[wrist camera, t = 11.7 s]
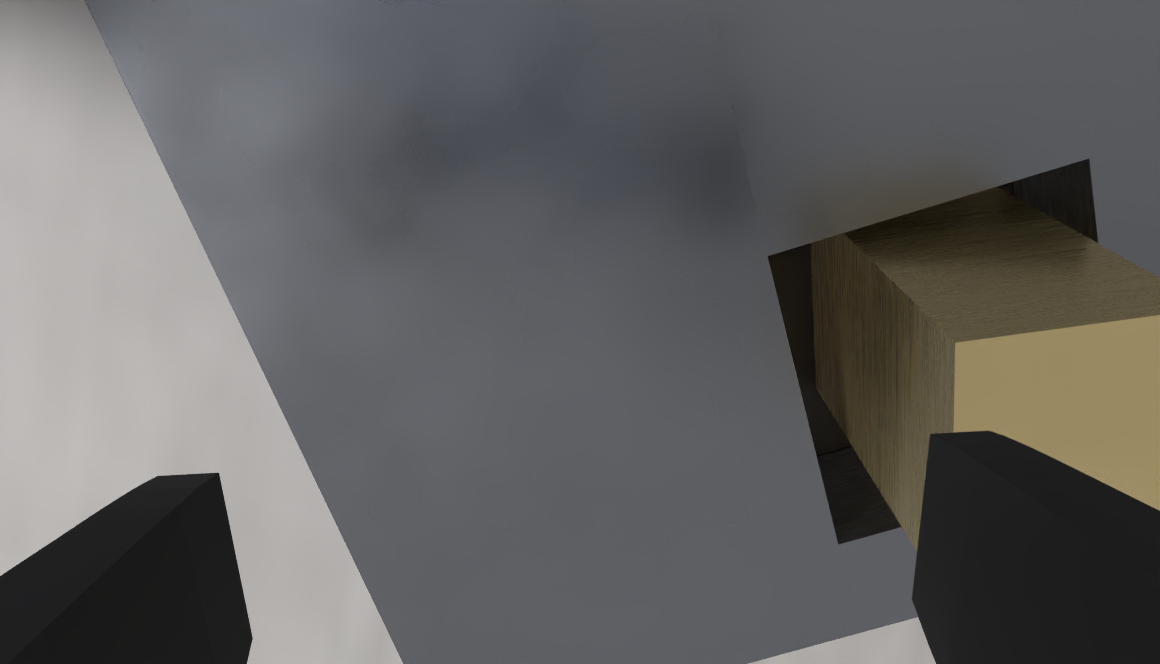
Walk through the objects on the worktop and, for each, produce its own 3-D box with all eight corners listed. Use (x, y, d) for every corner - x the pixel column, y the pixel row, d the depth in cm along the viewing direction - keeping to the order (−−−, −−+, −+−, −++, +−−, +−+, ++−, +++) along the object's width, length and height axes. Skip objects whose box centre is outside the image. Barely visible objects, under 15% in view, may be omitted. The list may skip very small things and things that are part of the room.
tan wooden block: (815, 387, 20) (949, 605, 14) (808, 198, 19) (955, 342, 12) (971, 366, 20) (1179, 574, 14) (976, 175, 19) (1214, 307, 12)
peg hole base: (454, 644, 22) (443, 746, 19) (120, -99, 16) (35, -104, 13) (1164, 444, 21) (1261, 522, 18) (1088, -436, 15) (1215, -519, 12)
